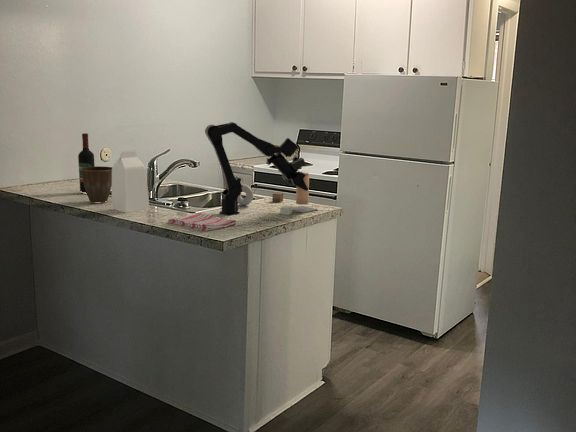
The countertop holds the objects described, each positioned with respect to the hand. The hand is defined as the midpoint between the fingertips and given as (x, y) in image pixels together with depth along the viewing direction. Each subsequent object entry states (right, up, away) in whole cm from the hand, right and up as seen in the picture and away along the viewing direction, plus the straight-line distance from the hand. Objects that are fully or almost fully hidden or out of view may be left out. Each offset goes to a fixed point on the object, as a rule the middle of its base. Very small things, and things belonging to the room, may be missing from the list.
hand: (305, 188), depth 272 cm
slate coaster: (-1, -10, +2) cm, 10 cm away
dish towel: (-43, -16, -29) cm, 54 cm away
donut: (-29, -7, +10) cm, 31 cm away
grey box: (-9, -11, -5) cm, 15 cm away
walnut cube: (-13, -5, +22) cm, 26 cm away
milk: (-78, -9, -3) cm, 79 cm away
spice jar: (-1, -6, +1) cm, 7 cm away
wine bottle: (-109, -1, +35) cm, 115 cm away
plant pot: (-97, -6, +12) cm, 97 cm away
